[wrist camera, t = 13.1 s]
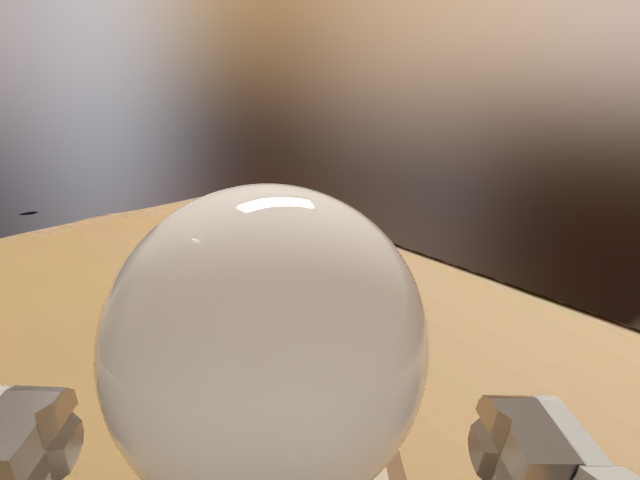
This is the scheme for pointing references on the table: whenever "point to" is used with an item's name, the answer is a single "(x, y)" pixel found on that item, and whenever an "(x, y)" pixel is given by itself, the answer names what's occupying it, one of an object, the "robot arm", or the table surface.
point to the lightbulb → (262, 342)
